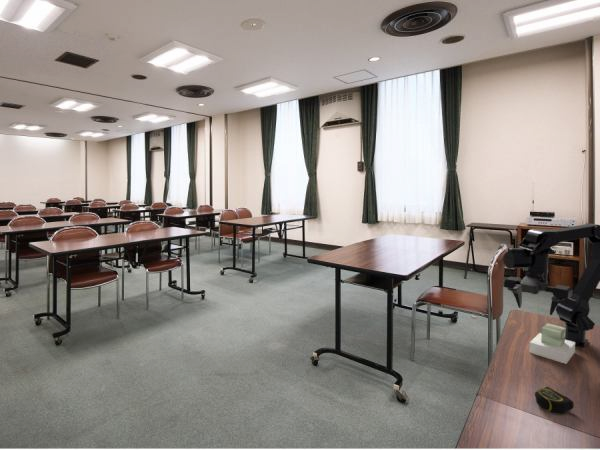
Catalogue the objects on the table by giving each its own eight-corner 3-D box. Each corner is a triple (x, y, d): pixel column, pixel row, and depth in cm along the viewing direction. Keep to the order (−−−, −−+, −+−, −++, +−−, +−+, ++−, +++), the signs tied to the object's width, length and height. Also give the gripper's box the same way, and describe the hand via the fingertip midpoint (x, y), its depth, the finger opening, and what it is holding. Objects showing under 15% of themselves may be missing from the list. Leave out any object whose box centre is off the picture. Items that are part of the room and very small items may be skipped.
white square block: (538, 343, 121) (539, 332, 121) (574, 353, 114) (575, 342, 113) (529, 353, 115) (529, 342, 114) (566, 365, 107) (566, 353, 107)
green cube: (546, 337, 117) (547, 323, 116) (564, 342, 113) (565, 328, 113) (541, 342, 114) (541, 327, 114) (559, 347, 110) (560, 332, 110)
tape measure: (575, 413, 86) (576, 399, 85) (554, 420, 84) (555, 405, 83) (547, 397, 92) (548, 384, 92) (528, 403, 90) (529, 389, 90)
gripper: (497, 266, 118) (496, 310, 121) (564, 277, 104) (561, 326, 106) (510, 260, 125) (508, 302, 128) (574, 270, 111) (571, 316, 113)
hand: (535, 311), depth 118 cm, fingers open, 9 cm apart
